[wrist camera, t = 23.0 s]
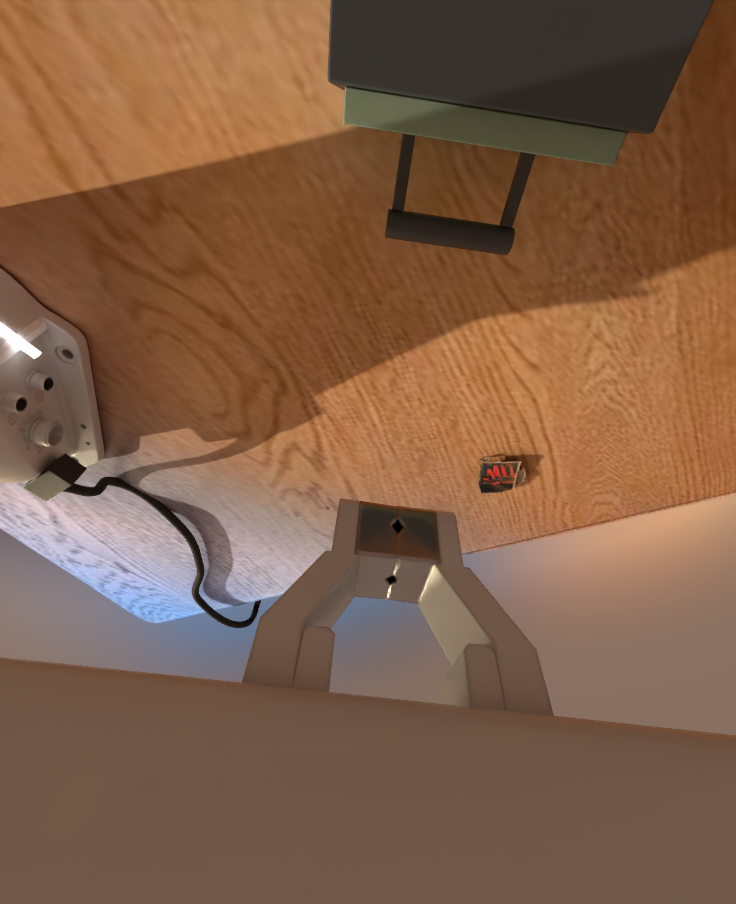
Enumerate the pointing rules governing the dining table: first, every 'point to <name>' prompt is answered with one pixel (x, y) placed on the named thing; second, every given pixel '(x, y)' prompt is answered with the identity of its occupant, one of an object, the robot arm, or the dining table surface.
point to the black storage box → (521, 54)
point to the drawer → (477, 130)
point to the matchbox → (500, 476)
